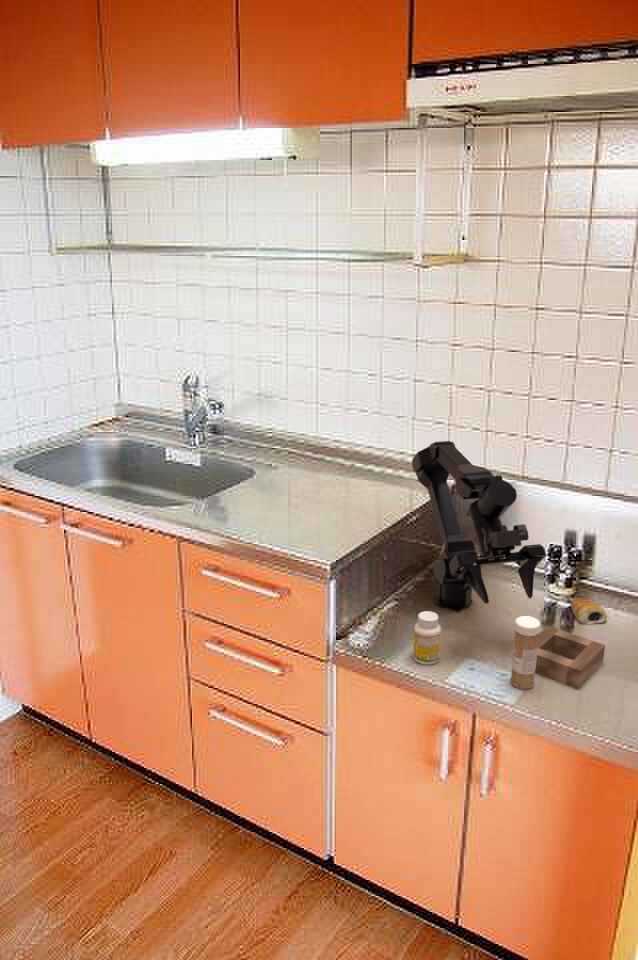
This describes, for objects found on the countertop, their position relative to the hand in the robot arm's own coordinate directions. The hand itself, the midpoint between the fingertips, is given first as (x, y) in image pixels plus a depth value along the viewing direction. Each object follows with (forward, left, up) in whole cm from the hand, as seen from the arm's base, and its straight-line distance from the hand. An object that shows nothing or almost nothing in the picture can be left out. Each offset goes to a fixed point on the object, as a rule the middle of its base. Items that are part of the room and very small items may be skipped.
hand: (509, 600), depth 153 cm
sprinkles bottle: (+6, -5, -14) cm, 16 cm away
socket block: (+9, +6, -14) cm, 18 cm away
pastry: (+5, +29, -14) cm, 33 cm away
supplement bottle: (-13, -9, -14) cm, 21 cm away
